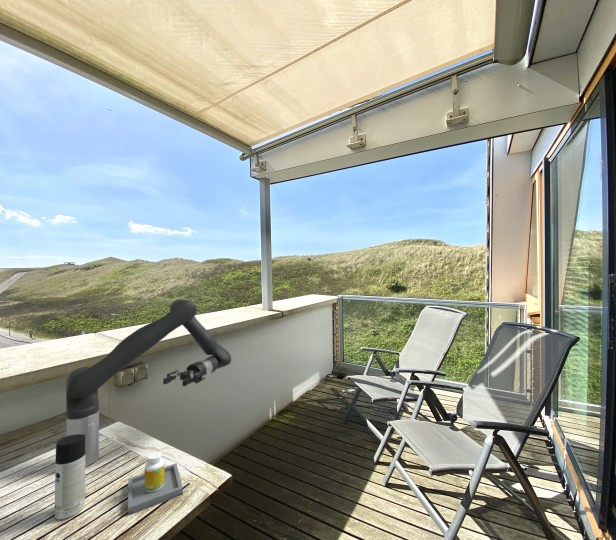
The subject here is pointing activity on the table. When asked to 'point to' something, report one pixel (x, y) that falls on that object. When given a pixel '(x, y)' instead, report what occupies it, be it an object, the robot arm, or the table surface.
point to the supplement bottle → (154, 472)
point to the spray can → (69, 476)
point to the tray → (143, 499)
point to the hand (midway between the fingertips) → (173, 382)
